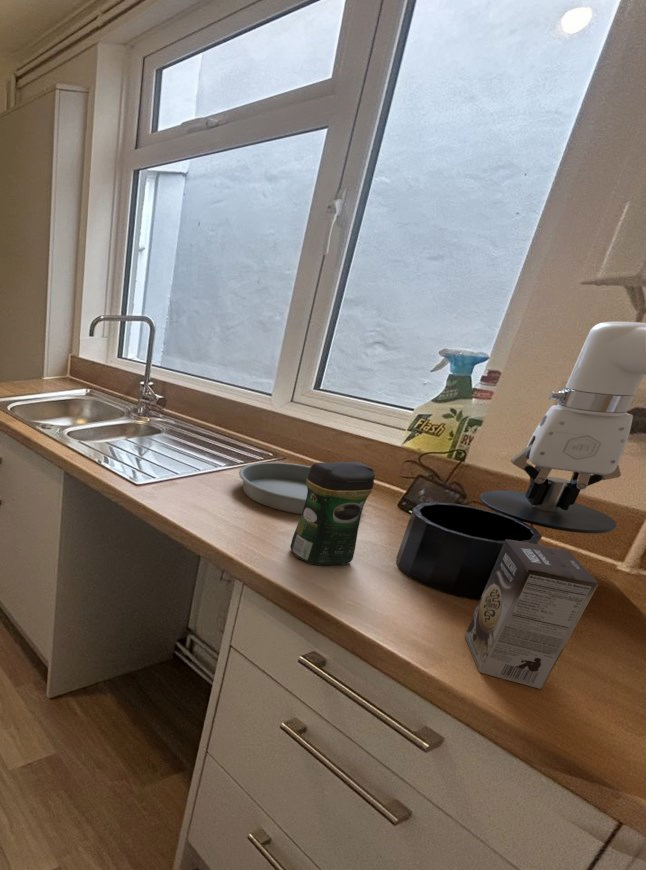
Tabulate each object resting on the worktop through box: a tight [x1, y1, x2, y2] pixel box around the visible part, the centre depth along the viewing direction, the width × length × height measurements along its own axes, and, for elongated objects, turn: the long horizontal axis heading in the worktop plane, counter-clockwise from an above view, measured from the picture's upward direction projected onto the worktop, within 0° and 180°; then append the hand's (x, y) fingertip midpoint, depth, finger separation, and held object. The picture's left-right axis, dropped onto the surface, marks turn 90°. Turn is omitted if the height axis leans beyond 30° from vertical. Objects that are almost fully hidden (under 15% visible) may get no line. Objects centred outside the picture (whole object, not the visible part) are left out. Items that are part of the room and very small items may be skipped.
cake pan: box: [238, 461, 311, 515], centre depth 123 cm, size 25×25×4 cm
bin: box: [396, 501, 543, 601], centre depth 90 cm, size 16×16×10 cm
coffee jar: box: [289, 461, 376, 566], centre depth 95 cm, size 10×8×19 cm
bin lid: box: [479, 476, 618, 535], centre depth 92 cm, size 17×17×7 cm
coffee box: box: [464, 539, 599, 690], centre depth 68 cm, size 9×6×16 cm
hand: (546, 504), depth 92 cm, fingers closed on bin lid, 3 cm apart
